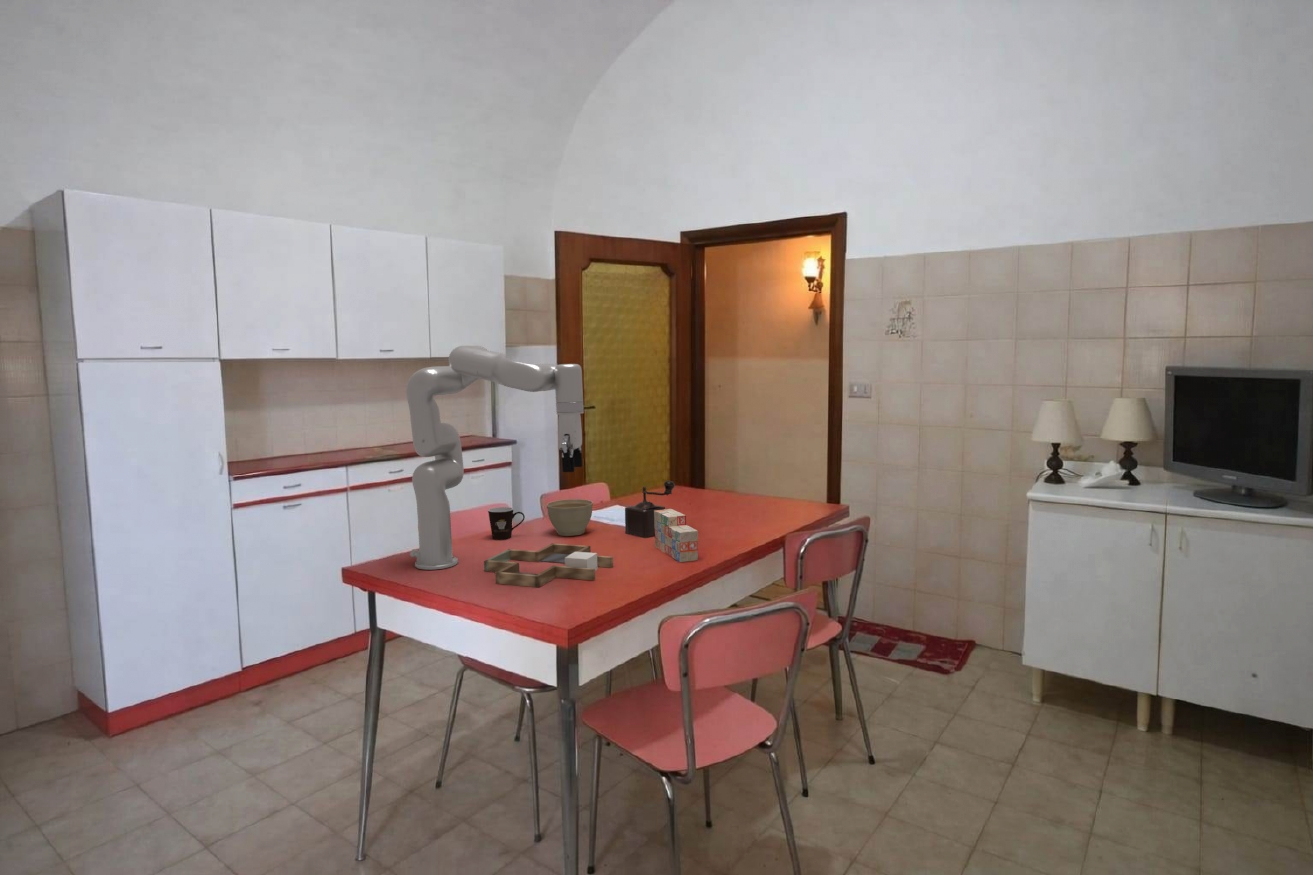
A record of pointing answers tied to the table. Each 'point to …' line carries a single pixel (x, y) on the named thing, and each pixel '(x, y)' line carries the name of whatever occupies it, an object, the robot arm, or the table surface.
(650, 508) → the manual coffee grinder
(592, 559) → the cream block
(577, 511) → the planter bowl
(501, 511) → the coffee mug
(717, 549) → the table surface
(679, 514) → the stack of blocks
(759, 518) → the table surface
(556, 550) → the low wooden maze walls
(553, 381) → the robot arm
